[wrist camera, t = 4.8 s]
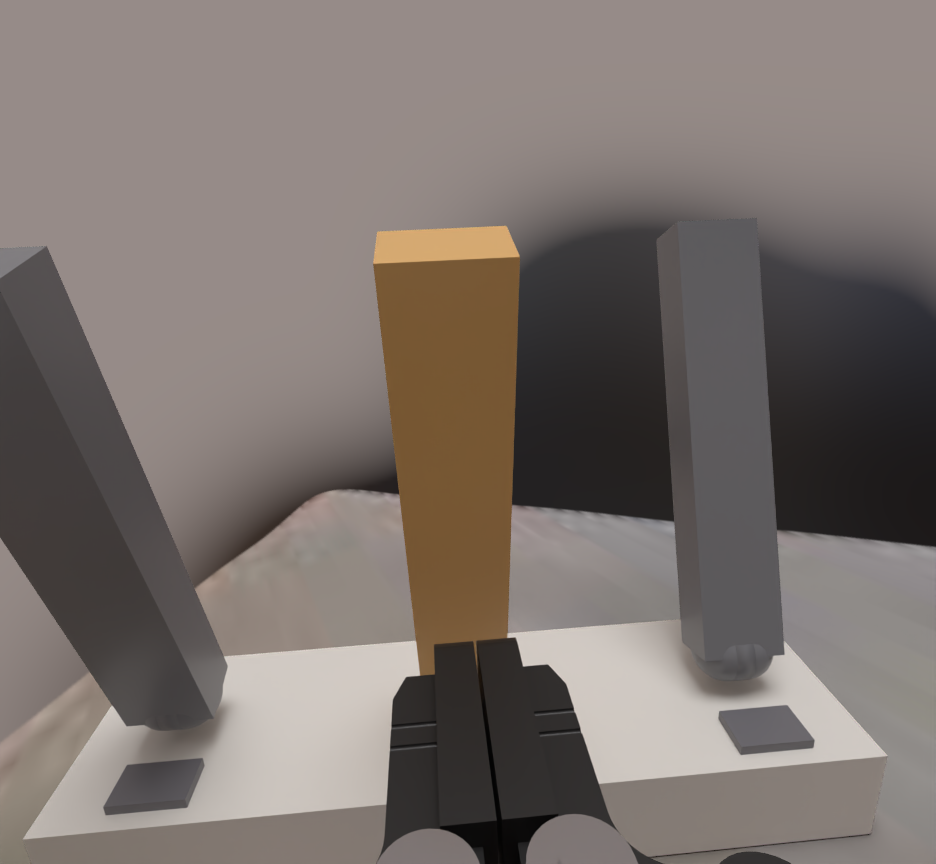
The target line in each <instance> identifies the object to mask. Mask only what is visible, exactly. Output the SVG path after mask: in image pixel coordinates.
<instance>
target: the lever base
mask: <svg viewBox="0 0 936 864" xmlns="http://www.w3.org/2000/svg"><path fill="white" fill-rule="evenodd" d="M512 637H516V639H517V643H518V647H519V651H520V655H521V659H522V664H523V666H534V665H546V664H548V665H549V666H550V667H551V668H552V669H553V670H554V671H555V672H556V673H557V675H558V676H559V677H560V678H561V679H562V680H563V681H564V682H565V683H566V685H567V688H568V691H569V694H570V697H571V700H572V703H573V706H574V712H575V713H576V715H577V718H578V722H579V725H580V728H581V733H582V734H583V737H584V740H585V743H586V746H587V749H588V752H589V755H590V758H591V761H592V764H593V767H594V771H595V774H596V777H597V780H598V783H599V786H600V789H601V792H602V795H603V798H604V801H605V804H606V807H607V810H608V813H609V816H610V818H611V820H612V822H613V824H614V826H615V827H616V829H617V830H618V832H619V833H620V834H621V835H622V836H623V837H624V839H625V840H626V841H627V842H628V843H629V844H630V845H631V846H633V847H634V848H635V849H637V850H638V851H639V852H641V853H642V854H644V855H646V856H647V857H652V856H662V855H671V854H681V853H691V852H700V851H710V850H719V849H729V848H739V847H748V846H758V845H768V844H777V843H787V842H796V841H806V840H816V839H825V838H835V837H845V836H854V835H864V834H871V831H872V826H873V822H874V817H875V812H876V808H877V803H878V799H879V794H880V789H881V785H882V780H883V776H884V771H885V766H886V762H887V757H888V756H887V755H886V753H885V752H884V751H883V750H882V749H881V748H880V747H879V746H878V745H877V743H876V742H875V741H874V740H873V739H872V738H871V737H870V736H869V735H868V733H867V732H866V731H865V730H864V729H863V728H862V727H861V726H860V725H859V724H858V722H857V721H856V720H855V719H854V718H853V717H852V716H851V715H850V714H849V712H848V711H847V710H846V709H845V708H844V707H843V706H842V705H841V704H840V702H839V701H838V700H837V699H836V698H835V697H834V696H833V695H832V694H831V692H830V691H829V690H828V689H827V688H826V687H825V686H824V685H823V684H822V682H821V681H820V680H819V679H818V678H817V677H816V676H815V675H814V674H813V672H812V671H811V670H810V669H809V668H808V667H807V666H806V665H805V664H804V662H803V661H802V660H801V659H800V658H799V657H798V656H797V655H796V654H795V652H794V651H793V650H792V649H791V648H790V647H789V646H788V645H787V644H786V642H785V641H784V653H785V655H777V656H773V660H772V663H771V665H770V667H769V668H768V670H767V671H766V672H765V673H764V674H762V675H761V676H759V677H757V678H754V679H750V680H740V681H720V680H716V679H714V678H711V677H709V676H708V675H707V674H705V673H704V672H703V671H702V670H701V669H700V668H699V667H698V666H697V664H696V663H695V661H694V659H693V657H692V653H691V649H690V648H688V647H687V646H686V645H685V644H684V643H682V633H681V619H677V620H665V621H653V622H641V623H628V624H616V625H604V626H592V627H579V628H567V629H555V630H543V631H531V632H518V633H508V636H507V638H512ZM224 658H225V661H226V663H227V665H228V668H227V672H226V675H225V679H224V683H223V695H222V699H221V702H220V704H219V707H218V708H217V710H216V713H215V716H214V719H208V720H207V721H205V722H204V723H202V724H201V725H199V726H196V727H194V728H190V729H183V730H172V731H157V730H153V729H150V728H148V727H147V726H145V725H138V726H126V725H125V723H124V722H123V720H122V719H121V717H120V716H119V714H118V713H117V711H116V710H115V709H114V707H113V706H111V707H110V709H109V710H108V712H107V713H106V715H105V716H104V718H103V719H102V721H101V722H100V724H99V726H98V727H97V729H96V730H95V732H94V733H93V735H92V736H91V738H90V739H89V741H88V742H87V744H86V745H85V747H84V748H83V750H82V751H81V753H80V754H79V756H78V757H77V759H76V760H75V762H74V763H73V765H72V766H71V768H70V769H69V771H68V772H67V774H66V775H65V777H64V778H63V780H62V781H61V783H60V784H59V786H58V787H57V789H56V790H55V792H54V793H53V795H52V796H51V798H50V799H49V801H48V802H47V804H46V805H45V807H44V808H43V810H42V811H41V813H40V814H39V816H38V817H37V819H36V820H35V822H34V823H33V825H32V826H31V828H30V829H29V831H28V832H27V834H26V835H25V837H24V838H23V842H24V845H25V848H26V850H27V853H28V856H29V859H30V861H31V864H376V863H377V860H378V858H379V856H380V854H381V850H382V847H383V843H384V835H385V819H386V803H387V786H388V770H389V753H390V737H391V720H392V704H393V698H394V696H395V695H396V693H397V691H398V690H399V688H400V686H401V685H402V683H403V681H404V679H405V678H406V677H410V676H420V671H419V662H418V653H417V644H416V641H408V642H396V643H384V644H372V645H359V646H347V647H335V648H323V649H311V650H298V651H286V652H274V653H262V654H249V655H237V656H225V657H224Z"/></svg>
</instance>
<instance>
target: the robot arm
mask: <svg viewBox="0 0 936 864" xmlns="http://www.w3.org/2000/svg"><path fill="white" fill-rule="evenodd" d="M476 654H477V665H476V657H475V650H474V643H473V641H467V642H455V643H443V644H434V665H435V674H433V675H422V676H410V677H406V678H405V679H404V681H403V683H402V685H401V686H400V688H399V690H398V691H397V693H396V695H395V696H394V698H393V704H392V720H391V737H390V753H389V770H388V786H387V803H386V819H385V835H384V843H383V847H382V850H381V854H380V856H379V858H378V860H377V863H376V864H663V863H660V862H658V861H655V860H653V859H651V858H649V857H647V856H646V855H644V854H642V853H641V852H639V851H638V850H637V849H635V848H634V847H633V846H631V845H630V844H629V843H628V842H627V841H626V840H625V839H624V837H623V836H622V835H621V834H620V833H619V832H618V830H617V829H616V827H615V826H614V824H613V822H612V820H611V818H610V816H609V813H608V810H607V807H606V804H605V801H604V798H603V795H602V792H601V789H600V786H599V783H598V780H597V777H596V774H595V771H594V767H593V764H592V761H591V758H590V755H589V752H588V749H587V746H586V743H585V740H584V737H583V734H582V733H581V728H580V725H579V722H578V718H577V715H576V713H575V712H574V706H573V703H572V700H571V697H570V694H569V691H568V688H567V685H566V683H565V682H564V681H563V680H562V679H561V678H560V677H559V676H558V675H557V673H556V672H555V671H554V670H553V669H552V668H551V667H550V666H549V665H548V664H546V665H534V666H523V664H522V659H521V655H520V651H519V647H518V643H517V639H516V637H512V638H501V639H489V640H477V641H476ZM720 864H791V863H789V862H787V861H785V860H783V859H781V858H778V857H776V856H773V855H769V854H766V853H760V852H741V853H736V854H734V855H731V856H729V857H727V858H726V859H724V860H723V861H722V862H721V863H720Z"/></svg>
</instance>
